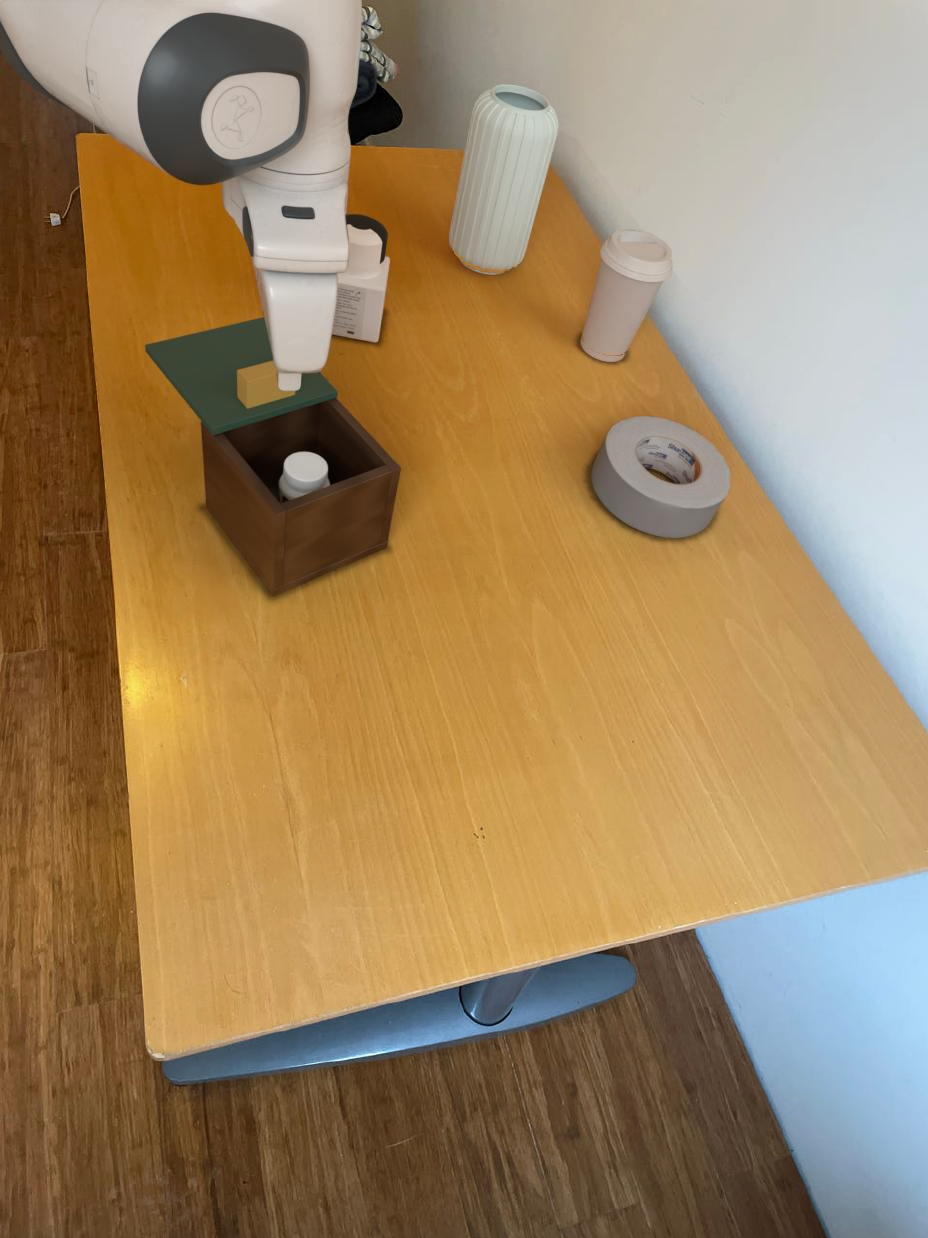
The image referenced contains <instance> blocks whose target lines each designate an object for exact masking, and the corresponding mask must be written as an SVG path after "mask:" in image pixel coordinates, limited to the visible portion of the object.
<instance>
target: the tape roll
mask: <svg viewBox="0 0 928 1238" xmlns="http://www.w3.org/2000/svg"><path fill="white" fill-rule="evenodd" d="M594 459H595V460H594V462H593V464H592V466H591V467H592V468H591V473H590V474H591V475H590V477H591V484H592V487H593V490H594V492H595V494H596V496H597V497H598V499H599V501H600V502H601V503H602V505H603V506H604V507H605V508H606V509H607V510H608V511H609V512H610V513H611V514H612V515H613V516H615V517H616V518H617V519H618V520H620V521H621V522H623V523H625V524H626V525H627V526H630V527H632V528H633V529H636V530H638V531H640V532H642V533H646V534H648V535H652V536H656V537H660V538H667V539H670V538H671V539H678V538H688V537H691V536H694V535H696V534H698V533H700V532H702V531H703V530H704V529H706V528H707V527H708V526H709V524H710V522H711V521H712V519H713V518H714V516H715V515H716V513H717V512H718V510H719V508H720V507H721V505H722V504H723V502H724V501H725V500H726V498H727V496H728V494H729V492H730V490H731V469H730V468H729V465H728V462H727V461H726V459H725V457H724V456H723V455H722V453H721V452H720V450H718V448H717V447H716V446H715V445H714V444H713V443H712V442H711V441H709V439H707V437H706V438H705V437H704V436H703V435H702V434H701V433H699V432H698V431H695V430H694V429H692V428H690V427H688V426H687V425H684V424H682V423H679V422H678V421H674V420H671V419H667V418H665V417H659V416H650V415H637V416H631V417H628V418H625V419H622V420H620V421H618V422H616V423H615V424H613V425H612V426H611V427H610V429H609V430H608V432H607V433H606V435H605V437H604V439H603V443H602V445H601V447H600V448H599V451H598V453H597V455H596V457H595V458H594ZM648 469H651V470H654V471H657V472H659V473H661V474H662V475H665V476H667V477H668V478H669V479H671V480H672V481H673V482H669V481H666V480H663V479H661V478H659V477H657V476H655V475H654V474H652V473H651V472H650V471H649V470H648Z"/></svg>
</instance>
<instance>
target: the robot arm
mask: <svg viewBox="0 0 928 1238" xmlns="http://www.w3.org/2000/svg"><path fill="white" fill-rule="evenodd" d="M362 5H363V0H0V51H1V53H2V55H3V56H4V58H5V59H6V61H7V62H8V64H9V65H10V66H11V68H12V69H13V70H14V71H15V73H17V75H18V76H19V77H20V78H21V79H22V80H23V81H24V82H25V83H26V84H28V86H30V87H31V88H33V89H34V90H36V91H37V92H38V93H41V94H42V95H43V96H46V97H47V98H49V99H51V100H53V101H55V102H57V103H58V104H60V105H61V106H63V107H64V108H67V109H69V110H71V111H72V112H75V113H77V114H78V115H79V116H81V117H82V118H84V119H85V120H86V121H88V122H90V123H91V124H93V126H95V127H97V128H98V129H100V130H101V131H102V132H104V133H106V134H107V135H108V136H109V137H110V138H113V139H114V140H115V141H117V142H119V143H120V144H121V145H123V146H124V147H126V148H127V149H129V150H130V151H132V152H133V153H134V154H136V155H138V156H139V157H141V158H142V159H143V160H145V161H146V162H148V163H149V164H151V165H152V166H154V167H155V168H157V169H158V170H160V171H161V172H163V173H165V174H167V175H169V176H170V177H172V178H174V179H176V180H178V181H181V182H183V183H185V184H188V185H196V186H212V185H216V184H220V183H221V189H222V191H221V193H222V195H221V196H222V205H223V208H224V209H225V211H226V212H227V214H228V215H229V217H231V218H232V219H233V220H234V223H235V225H236V226H237V229H238V230H239V231H240V234H241V235H242V237H243V239H244V241H245V243H246V246H247V249H248V253H249V256H250V258H251V262H252V266H253V271H254V276H255V281H256V285H257V289H258V295H259V299H260V304H261V312H262V317H264V319H265V323H266V327H267V332H268V336H269V341H270V346H271V350H272V355H273V362H274V365H275V368H276V370H277V372H276V377H277V382H278V387H279V389H280V390H282V391H296V390H298V389H300V387H301V374H302V373H318V372H320V373H321V371H322V370H323V369H324V368H325V366H326V365H327V364H326V363H327V361H328V358H329V353H330V348H331V342H332V336H333V335H332V330H333V324H334V317H335V311H336V303H337V292H338V274H337V273H345V272H346V271H347V269H348V263H349V237H348V230H347V221H346V215H347V212H348V211H347V210H348V200H349V199H348V198H349V176H350V167H351V166H350V165H351V155H352V145H351V144H352V143H351V137H350V132H349V114H350V110H351V106H352V104H353V100H354V97H355V95H356V92H357V88H358V79H359V70H360V69H359V68H360V58H361V57H360V56H361V43H362V42H361V40H362V16H363V15H362V14H363V13H362V12H363V6H362Z"/></svg>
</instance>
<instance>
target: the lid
mask: <svg viewBox="0 0 928 1238" xmlns="http://www.w3.org/2000/svg"><path fill="white" fill-rule="evenodd" d="M144 349H145V351H144V352H145V353H146V354H147V355H148V357H149V358H150V359H151V361H152V362H153V363H154V364H155V366H156V367H157V368H158V369H159V370H160V372H161V373H162V374H163V375H164V377H165V378H166V379H167V380H168V382H169V383H170V384H171V386H172V387H173V388H174V389H175V390H176V392H177V393H178V394H179V395H180V397H181V398H182V399H183V400H184V402H185V403H186V404H187V405H188V406H189V408H190V409H191V410H192V411H193V413H194V414H195V415H196V417H197V418H198V419H199V420H200V422H201V421H202V423H203V424H204V425H205V426H206V427H207V429H208V430H209V431H210V432H211V434H212V435H216V434H219V433H223V432H226V431H229V430H232V429H236V428H239V427H242V426H245V425H249V424H252V423H255V422H259V421H262V420H265V419H268V418H272V417H275V416H278V415H282V414H285V413H288V412H291V411H295V410H298V409H301V408H304V407H308V406H311V405H314V404H318V403H321V402H324V401H327V400H331V399H334V398H337V399H338V392H339V391H338V389H337V388H336V387H335V386H334V385H332V383H331V382H330V381H329V380H328V379H327V378H326V377H325V375H324V374H323V373H322V372H321V371H320V372H318V373H302V374H301V387H300V389H298V390H296V391H282V390H280V389H279V387H278V382H277V377H276V372H277V370H276V368H275V365H274V362H273V355H272V350H271V346H270V341H269V336H268V332H267V327H266V323H265V319H264V317H263V316H262V317H258V318H253V319H250V320H245V321H241V322H236V323H232V324H227V325H224V326H220V327H215V328H210V329H207V330H206V329H205V330H202V331H198V332H194V333H190V334H189V333H188V334H186V335H181V336H176V337H173V338H167V339H163V340H159V341H156V342H150V343H147V344H144Z"/></svg>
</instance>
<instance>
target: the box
mask: <svg viewBox="0 0 928 1238" xmlns="http://www.w3.org/2000/svg"><path fill="white" fill-rule="evenodd" d="M200 432H201V433H200V434H201V449H202V463H203V476H204V477H203V479H204V493H205V508H206V509H207V511H208V512H209V513H210V515H211V516H212V518H213V519H214V520H215V521H216V523H217V524H218V526H220V528H221V529H222V530H223V532H224V533H225V535H226V536H227V537H228V538H229V540H230V541H231V542H232V544H233V545H234V546H235V548H236V549H237V550H238V552H239V553H240V555H241V556H242V557H243V559H244V560H245V561H246V562H247V564H248V566H249V567H251V569H252V570H253V572H254V573H255V574H256V575H257V577H258V579H260V581H261V582H262V583H263V585H264V586H265V587H266V589H267V590H268V591H269V593H270V594H271V595H272V597H275V596H278V595H280V594H283V593H285V592H287V591H290V590H293V589H295V588H296V587H299V586H302V585H304V584H306V583H308V582H311V581H313V580H316V579H317V578H320V577H323V576H325V575H327V574H329V573H332V572H333V571H337V570H338V569H341V568H343V567H346V566H348V565H350V564H353V563H355V562H357V561H359V560H361V559H365V558H366V557H368V556H371V555H374V554H377V553H378V552H380V551H383V550H385V549H387V546H388V541H389V535H390V530H391V525H392V520H393V515H394V514H393V513H394V509H395V503H396V498H397V493H398V489H399V488H398V487H399V482H400V477H401V471H402V467H401V466H400V465H399V464H398V463H397V461H396V460H395V459H394V458H393V457H392V456H391V455H390V454H389V453H388V452H387V451H386V450H385V449H384V448H383V447H382V445H381V444H380V443H379V442H378V441H377V440H376V438H374V437H373V436H372V435H371V434H370V433H369V431H367V429H366V428H365V427H364V426H363V425H362V423H360V422H359V421H358V420H357V418H356V417H355V416H354V415H353V414H352V413H351V412H350V411H349V410H348V409H347V408H346V406H345V405H344V404H343V403H342V402H341V401H340V400H339V399H338V397H337V398H334V399H331V400H327V401H324V402H321V403H318V404H314V405H311V406H308V407H304V408H301V409H298V410H295V411H291V412H288V413H285V414H282V415H278V416H275V417H272V418H268V419H265V420H262V421H259V422H255V423H252V424H249V425H245V426H242V427H239V428H236V429H232V430H229V431H226V432H223V433H219V434H216V435H212V434H211V432H210V431H209V430H208V429H207V427H206V426H205V425H204V424H203V423H202V421H201V420H200ZM297 452H311V453H315V454H317V455H319V456H321V457H322V458H323V459H324V460H325V461H326V463H327V465H328V480H329V482H330V486H327V487H324V488H322V489H319V490H316V491H313V492H311V493H308V494H305V495H303V496H300V497H297V498H294V499H292V500H289V501H286V502H284V503H281V504H280V503H279V502H278V496H279V480H280V478H281V476H282V474H283V468H284V462H285V460H286V458H287V457H288V456H290V455H291V454H293V453H297Z"/></svg>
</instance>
